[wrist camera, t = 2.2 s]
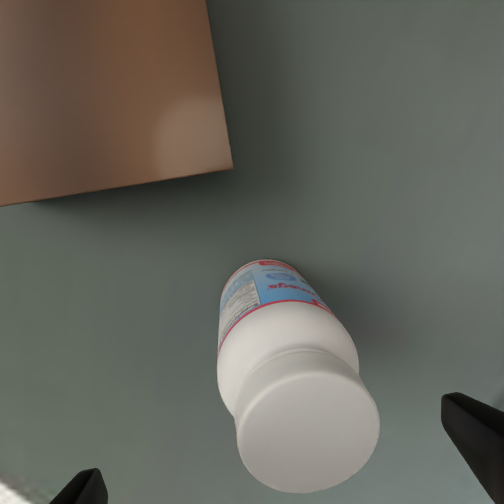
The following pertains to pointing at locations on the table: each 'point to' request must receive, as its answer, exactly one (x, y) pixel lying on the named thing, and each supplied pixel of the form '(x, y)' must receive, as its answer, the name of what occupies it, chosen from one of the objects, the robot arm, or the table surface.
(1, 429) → the table surface
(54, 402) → the table surface
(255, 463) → the pill bottle
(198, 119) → the walnut platform
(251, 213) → the table surface
